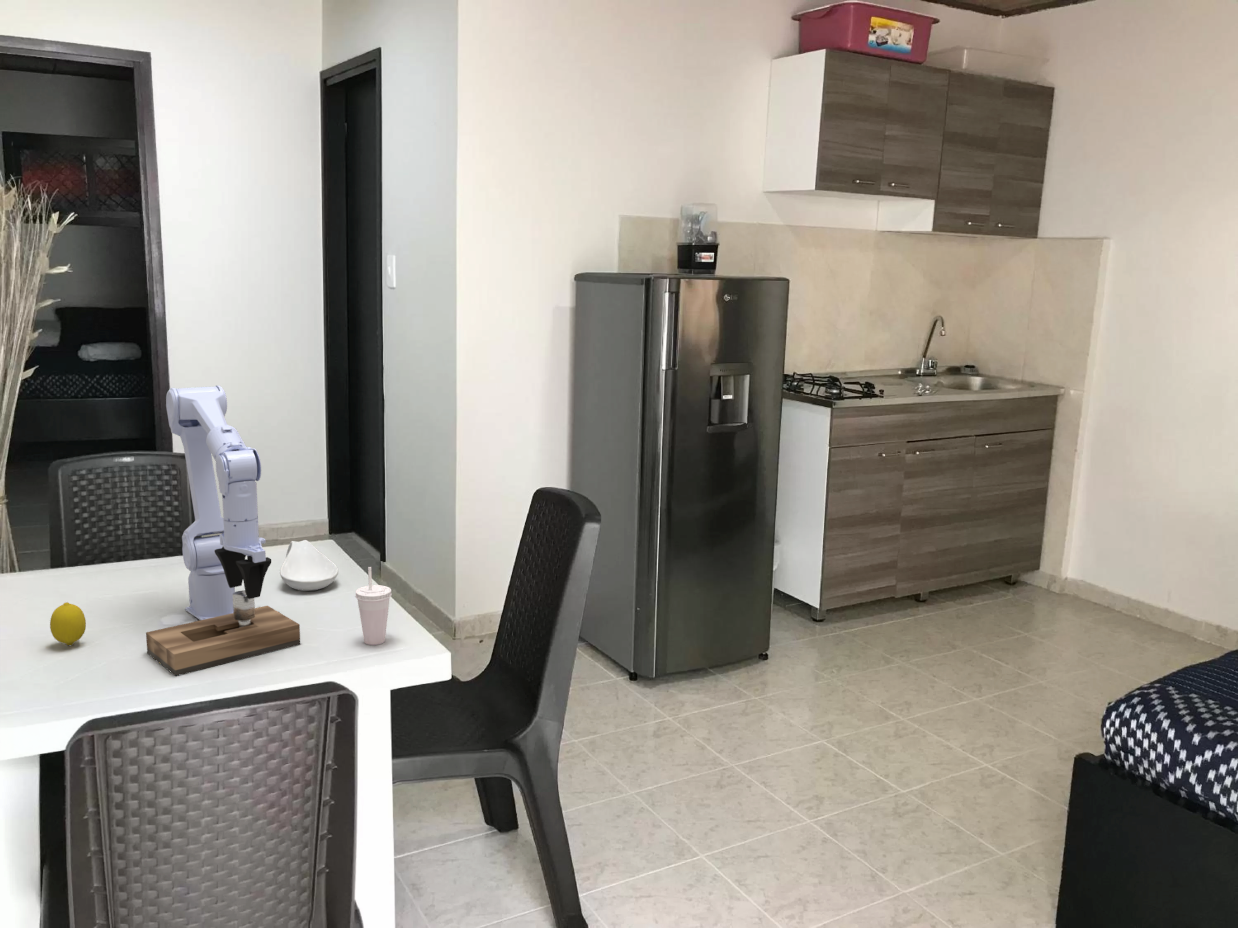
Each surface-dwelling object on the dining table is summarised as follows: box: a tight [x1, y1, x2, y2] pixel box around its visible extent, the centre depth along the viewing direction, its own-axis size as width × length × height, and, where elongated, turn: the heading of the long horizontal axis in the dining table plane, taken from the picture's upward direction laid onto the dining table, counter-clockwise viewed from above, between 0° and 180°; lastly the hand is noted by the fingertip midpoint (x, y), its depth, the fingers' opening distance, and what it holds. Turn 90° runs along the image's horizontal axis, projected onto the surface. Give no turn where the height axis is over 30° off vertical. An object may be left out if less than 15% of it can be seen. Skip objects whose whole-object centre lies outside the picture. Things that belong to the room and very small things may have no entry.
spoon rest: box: [279, 539, 339, 592], centre depth 219 cm, size 24×12×7 cm, turn 27°
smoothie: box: [354, 566, 392, 646], centre depth 184 cm, size 6×6×14 cm
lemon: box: [49, 601, 87, 646], centre depth 179 cm, size 6×6×8 cm
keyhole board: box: [145, 605, 301, 676], centre depth 180 cm, size 13×22×4 cm, turn 133°
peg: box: [233, 589, 256, 628], centre depth 182 cm, size 5×5×8 cm
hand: (244, 591), depth 181 cm, fingers open, 7 cm apart
